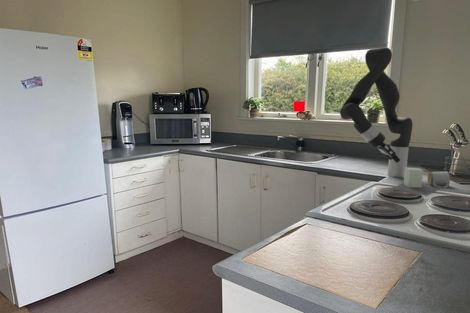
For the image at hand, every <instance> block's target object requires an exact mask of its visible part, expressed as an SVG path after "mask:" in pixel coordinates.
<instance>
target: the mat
mask: <svg viewBox="0 0 470 313" xmlns="http://www.w3.org/2000/svg"><path fill="white" fill-rule="evenodd" d="M389 190H395V191H399V192H405V193H410V194H416V195H420V196H424V197H428V196H430V195H431V194H434V193H435V192H438V191H439V190H441V188H437V187H435V186H427V185H423V184H422V187H421V188H419V187H407V186H406V185H404V182H403V183H401V184H399V185H398V184H397V185H395V186H393V187H389Z"/></svg>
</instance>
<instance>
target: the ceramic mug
mask: <svg viewBox="0 0 470 313" xmlns="http://www.w3.org/2000/svg"><path fill="white" fill-rule="evenodd" d="M450 182H451V175H450V173H449V172H448V171H430V172H428V175H427V183H428V185H429V186H432V187H434V188H440V189H447V188H449V186H450V184H451V183H450Z"/></svg>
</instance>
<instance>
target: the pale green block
mask: <svg viewBox="0 0 470 313" xmlns="http://www.w3.org/2000/svg"><path fill="white" fill-rule="evenodd" d="M423 177H424V169H422V168H419V167H408V166H407V167H405V174H404V178H403V183H404V185H406V186H407V187H419V188H421V187H422V185H423Z"/></svg>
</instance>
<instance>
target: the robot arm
mask: <svg viewBox="0 0 470 313" xmlns="http://www.w3.org/2000/svg"><path fill="white" fill-rule="evenodd" d="M392 58H393V53H392V50H391V49H390V48H389V47H378V48H377V47H376V48H371V49H368V50H367V51H366V53H365V58H364V60H365V64H366V67H367V68H368V72H367V73H366V74H365V75H363V77H361V78H360V79H359V80H358V81H357V83H356V84H355V86H354V88H353V90H352V92H351V93H350V95H349V97H348V98H347V99H346V100H345V102H344V103H343V105H342V106H341V107H340V111H339V112H340V113H339V115H340V117H341V118H342V119H344V120H350V119H351V120H352V121H353V126H354V129H355V130H356V131H357V132H358V134H360V135H361V136H362V138H363V139H364V140H365V141H366V142H367V144H369V145H370V147H372V149H373V148H374V149H375V148H377V149H378V150H379V151H380V153H381V154H383V155H385V156H386V157H387V158H388V167H387V168H388V169H387V177H388V178H389V177H390V178H402V179H404V174H405V167H407V168H408V159H409V157H408V156H409V147H410V144H411V137H412V131H413V125H414V123H413V121H412V118H410V117H406V116H405V117H401V116H398V115H397V111H396V108H397V106H398V104H399V102H400V99H401V98H400V97H401V96H400V92H399V89H398V86H397V83H396V82H395V81H393V79H392V78H390V76H388V74H386V73H385V70H386V69H387V68H388V66H389V65H390V63H391V61H392ZM374 85H375V86H376V89H377V93H378V96H379V99H380V102H381V103H382V107H383V110H384V113H385V117H386V122H387V127H388V130H389V131H390V133H392V134H395V135H396V134H397V135H399V137H397V139H393V140H391V141H390V145H389V144H388V143H385V140H386V136H385V135H384V134H382V132H381V131H380V130H379V129H378V128H377V127H376V126H375V125H374V124H373V123H372V122H371V121H370V120H369V119H368V118H367V117H366V115H365V112H364V111H363V109H362V108H361V107H360V105H362V104H363V102H364V101H365V100H366V98H367V96H368V94H369V92H370V90H371V89H372V87H373V86H374Z"/></svg>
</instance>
